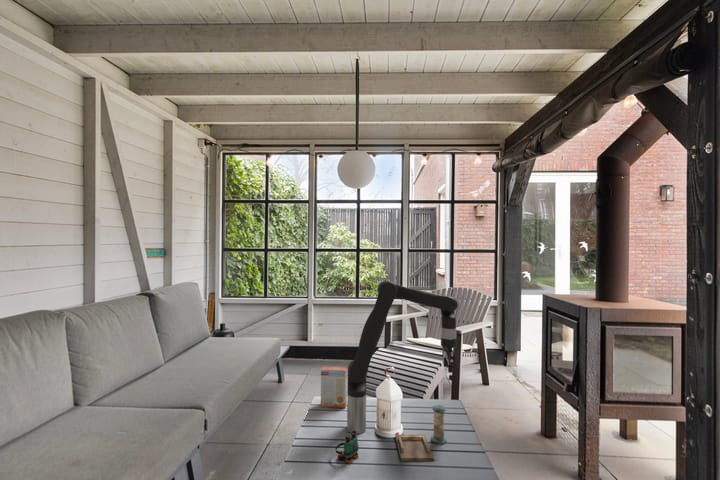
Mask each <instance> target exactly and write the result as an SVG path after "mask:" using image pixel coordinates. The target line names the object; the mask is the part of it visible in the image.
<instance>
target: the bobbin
mask: <svg viewBox="0 0 720 480" xmlns="http://www.w3.org/2000/svg"><path fill="white" fill-rule="evenodd" d="M432 410H433V434H432V435H431V436H430V441H431V442H432V443H434V444H437V445H444V444H446V443H447V437H446V436H445V412H446V411H447V408H446V406H444V405H441V404H435V405H433V406H432Z"/></svg>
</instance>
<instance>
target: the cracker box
mask: <svg viewBox="0 0 720 480" xmlns="http://www.w3.org/2000/svg"><path fill="white" fill-rule="evenodd" d="M347 405H348V367H339V366H337V367H336V366H335V367H333V366H322V368H321V370H320V407H321V408H337V409H341V408H342V409H346V407H347Z"/></svg>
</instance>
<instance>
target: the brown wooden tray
mask: <svg viewBox="0 0 720 480" xmlns="http://www.w3.org/2000/svg"><path fill="white" fill-rule="evenodd" d="M397 435H398V436H396V439H395V441H396V445H397V451H398V454H399V458H400V461H402V462H419V461H420V462H433V461H435V456H434V453H433V452H432V449H431V447H430V444H429V442H428V439H427V437H426V434H397Z"/></svg>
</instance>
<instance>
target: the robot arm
mask: <svg viewBox="0 0 720 480" xmlns="http://www.w3.org/2000/svg"><path fill="white" fill-rule="evenodd" d="M377 292H378V293H377V297H376V301H375V304H374V306H373V309H372V310H371V312H370V313H369V315H368V317H367V319H366V321H365V322H364V326H363V328H362V331H361V334H360V339H359V344H358V349H357V352H356V355H355V358H354V359H352V361H350V363H349V364H348V366H347V404H346V407H347V409H346V413H347V414H346V416H347V417H346V418H347V419H346V432H347V433H351V432H352V431H356V435H358V434H361V433H362V434H363V433H364V432H366V430H367V376H368V371H369V367H370V363H371V360H372V358H373V355H374V353H375V350H376V349H377V346H378V343H379V341H380V339H381V336H382V334H383V331H384V328H385V324H386V323H387V318H388V314H389V312H390V309H391V307H392V305H393V302H394V301H395V299H398V300H404V301H408V302H411V303H414V304H417V305H420V306H426V307H429V308H435V309H439V310H440V314H441V329H440V346H441V347H442V352H441V353H442V355H441V357H442V359H443V367H444V368H447V372H448V373H450V374H452V373H453V372H454V365H455V364H456V363H455V362H456V359H455V358H456V357H455V356H456V354H455V353H456V352H455V351H454V350H453V349H454V348H456V347H457V318H456V316H455V311H456V310H457V309H458V307H459V303H458V301H457V300H456V298H454V297H453V296H451V295H441V294H438V293H436V292H431V291H427V290H423V289H421V290H420V289H417V288H416V289H415V288H410V287H406V286H403V285H401V284H397V283H394V282H393V281H390V280H383V281H381V282H380V283H379V284H378V285H377Z"/></svg>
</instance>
